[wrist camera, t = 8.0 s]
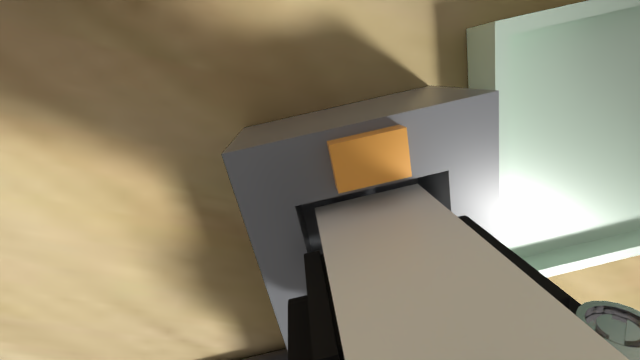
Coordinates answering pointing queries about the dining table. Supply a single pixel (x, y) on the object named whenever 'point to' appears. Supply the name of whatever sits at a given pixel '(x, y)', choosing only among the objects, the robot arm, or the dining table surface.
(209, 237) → the dining table surface
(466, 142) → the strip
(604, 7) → the tray
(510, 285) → the plug
